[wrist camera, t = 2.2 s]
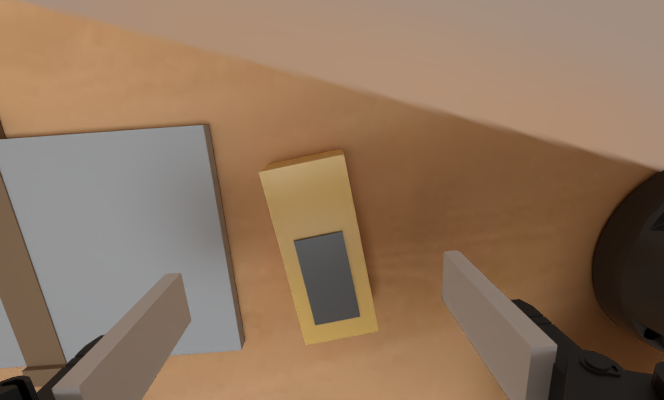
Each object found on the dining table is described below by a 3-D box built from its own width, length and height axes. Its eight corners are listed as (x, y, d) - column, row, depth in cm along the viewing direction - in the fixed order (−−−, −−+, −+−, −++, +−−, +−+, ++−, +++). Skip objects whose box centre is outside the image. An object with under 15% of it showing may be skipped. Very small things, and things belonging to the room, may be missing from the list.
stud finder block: (340, 148, 21) (344, 154, 17) (370, 297, 24) (379, 333, 20) (270, 163, 21) (257, 172, 17) (308, 309, 24) (305, 347, 20)
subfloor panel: (204, 101, 20) (195, 99, 18) (247, 356, 25) (242, 371, 24) (-133, 125, 20) (-169, 125, 18) (-22, 376, 25) (-44, 392, 23)
